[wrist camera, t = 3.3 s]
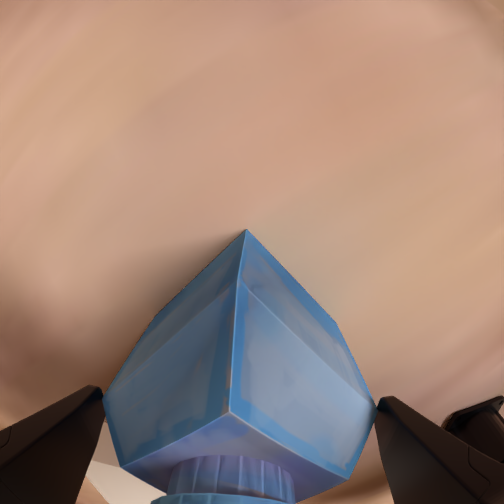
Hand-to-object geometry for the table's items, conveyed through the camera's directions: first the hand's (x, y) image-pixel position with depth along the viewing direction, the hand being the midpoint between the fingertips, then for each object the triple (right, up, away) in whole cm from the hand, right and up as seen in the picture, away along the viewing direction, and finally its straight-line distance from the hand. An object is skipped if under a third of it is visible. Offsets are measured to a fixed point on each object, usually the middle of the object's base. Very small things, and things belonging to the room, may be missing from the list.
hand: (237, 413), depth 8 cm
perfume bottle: (0, +2, +6) cm, 6 cm away
